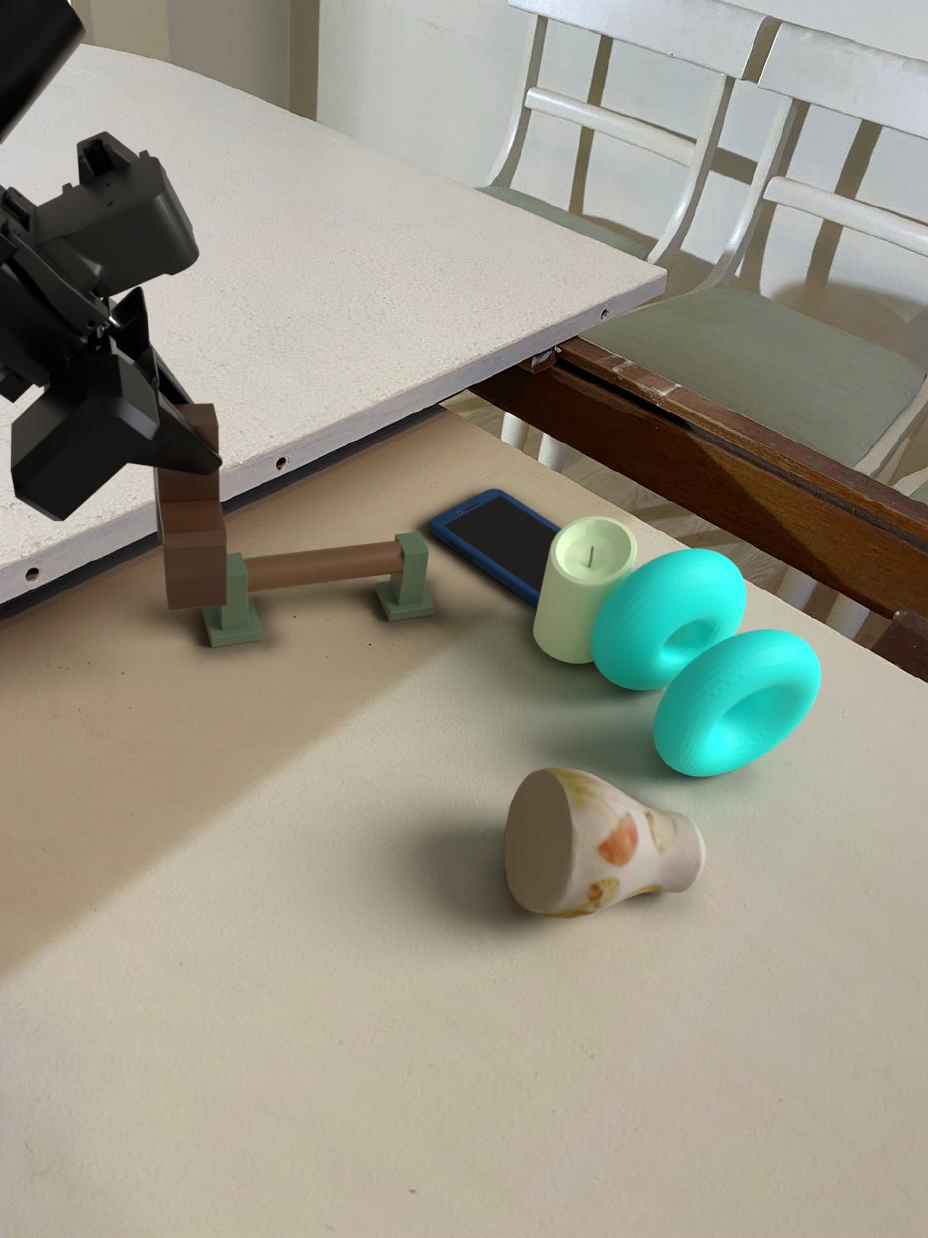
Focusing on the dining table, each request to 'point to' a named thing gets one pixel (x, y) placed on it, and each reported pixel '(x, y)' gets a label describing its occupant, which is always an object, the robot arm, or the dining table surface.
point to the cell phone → (500, 539)
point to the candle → (580, 584)
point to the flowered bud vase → (592, 845)
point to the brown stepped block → (192, 524)
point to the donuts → (704, 662)
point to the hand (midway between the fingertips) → (213, 454)
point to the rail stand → (321, 566)
